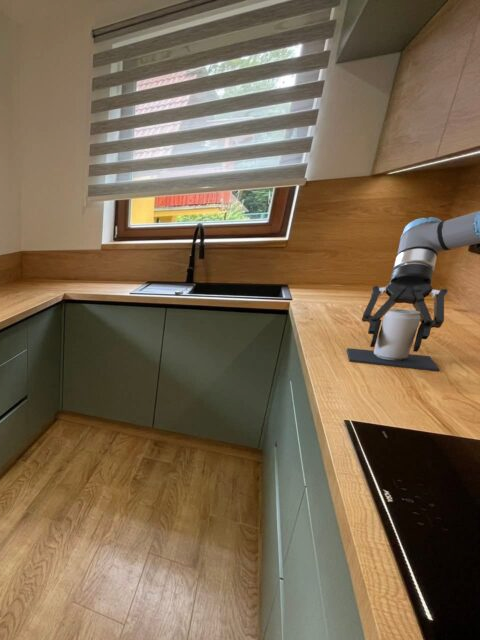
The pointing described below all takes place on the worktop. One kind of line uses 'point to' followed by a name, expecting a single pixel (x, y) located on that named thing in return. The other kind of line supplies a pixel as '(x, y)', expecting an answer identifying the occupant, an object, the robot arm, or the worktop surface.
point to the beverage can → (397, 334)
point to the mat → (408, 362)
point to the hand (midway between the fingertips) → (394, 346)
